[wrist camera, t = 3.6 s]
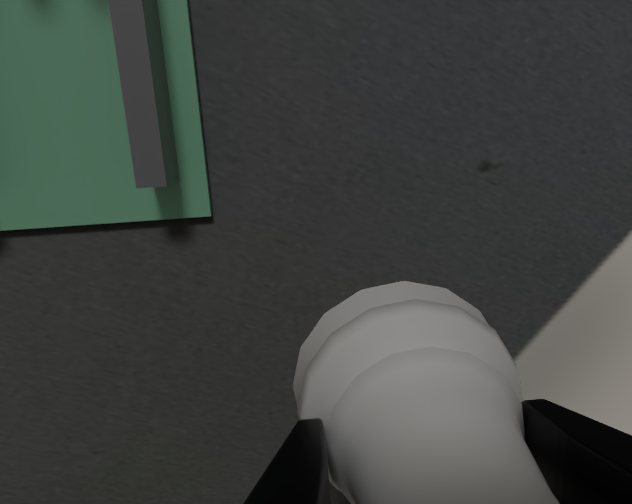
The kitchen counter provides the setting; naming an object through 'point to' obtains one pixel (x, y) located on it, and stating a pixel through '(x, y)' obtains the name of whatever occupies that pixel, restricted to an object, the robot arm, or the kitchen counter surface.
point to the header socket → (99, 114)
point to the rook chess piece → (417, 401)
